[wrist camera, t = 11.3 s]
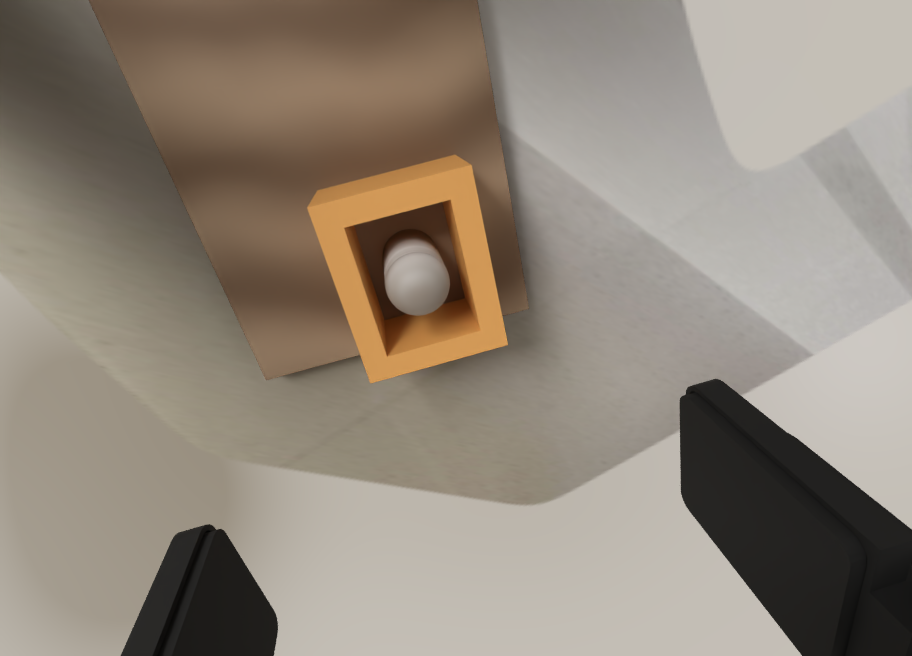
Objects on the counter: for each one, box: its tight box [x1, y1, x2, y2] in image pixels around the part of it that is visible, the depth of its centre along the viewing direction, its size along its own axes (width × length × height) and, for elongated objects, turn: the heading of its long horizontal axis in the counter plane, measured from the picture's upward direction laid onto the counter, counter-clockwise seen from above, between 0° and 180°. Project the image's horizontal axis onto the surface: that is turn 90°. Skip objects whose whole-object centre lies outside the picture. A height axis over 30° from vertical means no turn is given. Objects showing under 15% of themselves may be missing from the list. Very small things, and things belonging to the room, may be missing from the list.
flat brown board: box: [89, 0, 529, 380], centre depth 22 cm, size 22×16×8 cm
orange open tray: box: [307, 155, 508, 383], centre depth 25 cm, size 9×7×4 cm
